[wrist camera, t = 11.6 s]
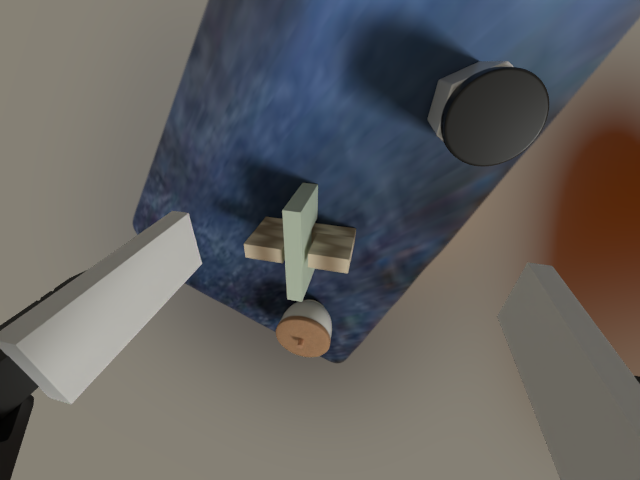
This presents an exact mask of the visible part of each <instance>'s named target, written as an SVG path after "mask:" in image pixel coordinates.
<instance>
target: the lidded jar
mask: <svg viewBox="0 0 640 480" xmlns="http://www.w3.org/2000/svg"><path fill="white" fill-rule="evenodd" d="M331 333H332V322H331V318H330V315H329V313H328V312H327V310H326V309H325V308H324V306H323V305H322V304H321V303H319V302H317V301H315V300H310V299H307V300H303V301H302V302H297V303H295V304H293V305H292V306H290V307H289V308H288V309H287V311H286V312H285V313H284V315H283V317H282V319H281V321H280V322H279V324H278V326H277V328H276V337H277V339H278V341H279V342H280V344H281V345H282V346H283V347H284V348H286V349H287V350H289V351H290V352H292V353H294V354H297V355H300V356H304V357H317V356H320V355H322V354H324V353H325V352H327V350H328V349H329V346H330V339H331Z"/></svg>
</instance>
